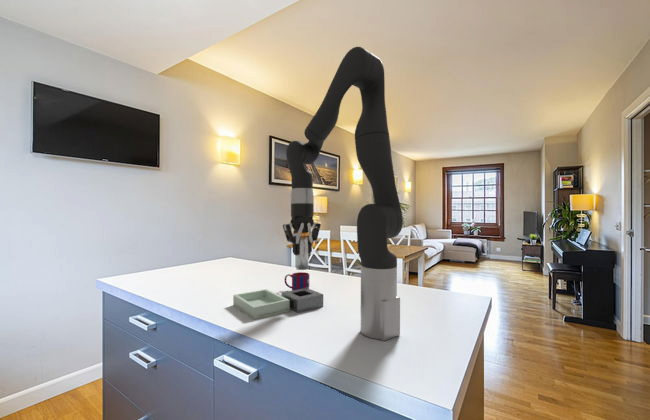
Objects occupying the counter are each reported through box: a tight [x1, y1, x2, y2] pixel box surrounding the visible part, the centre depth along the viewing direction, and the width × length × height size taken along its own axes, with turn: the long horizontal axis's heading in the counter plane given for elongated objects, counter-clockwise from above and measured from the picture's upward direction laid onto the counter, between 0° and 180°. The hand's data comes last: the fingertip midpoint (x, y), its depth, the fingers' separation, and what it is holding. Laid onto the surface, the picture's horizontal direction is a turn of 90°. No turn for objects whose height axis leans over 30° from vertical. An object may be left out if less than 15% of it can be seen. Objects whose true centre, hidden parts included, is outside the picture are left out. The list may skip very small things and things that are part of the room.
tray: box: [232, 288, 291, 320], centre depth 96 cm, size 16×12×3 cm
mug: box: [284, 271, 310, 291], centre depth 117 cm, size 7×10×7 cm
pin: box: [295, 232, 310, 271], centre depth 99 cm, size 5×5×12 cm
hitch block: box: [280, 288, 324, 314], centre depth 99 cm, size 10×10×4 cm
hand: (302, 254), depth 99 cm, fingers closed on pin, 4 cm apart
